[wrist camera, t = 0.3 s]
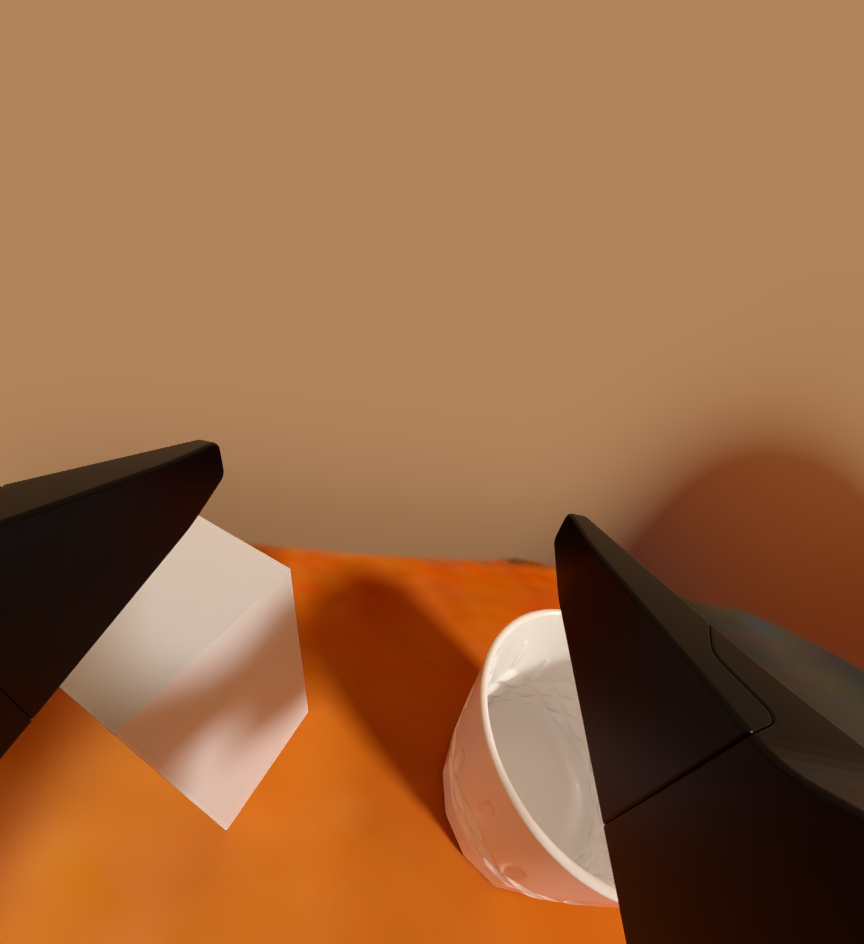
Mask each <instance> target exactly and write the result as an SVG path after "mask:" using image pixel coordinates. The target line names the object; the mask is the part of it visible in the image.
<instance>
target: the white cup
mask: <svg viewBox="0 0 864 944" xmlns="http://www.w3.org/2000/svg"><path fill="white" fill-rule="evenodd" d="M443 786H444V799H445V813H446V816H447V818H448V821H449V823H450V825H451V828H452V830H453V832H454V835H455V837H456V839H457V842H458V844H459V847H460V849H461V851H462V854H463V856H464V857H465V858H466V859H467V860H468V861H469V862H470V863H471V864H472V865H473V866H474V867H475V868H476V869H477V870H478V871H479V872H480V873H481V874H482V875H483V876H484V877H485V878H486V879H487V880H488V881H489V882H490V883H491V884H492V885H493V886H496V887H499V888H503V889H507V890H511V891H515V892H519V893H523V894H525V895H527V896H529V897H532V898H537V899H543V900H549V901H556V902H563V903H567V904H574V905H588V906H603V907H617V908H619V903H618V898H617V893H616V888H615V883H614V878H613V873H612V868H611V863H610V858H609V853H608V847H607V842H606V837H605V832H604V825H605V824H604V823H603V821H602V816H601V811H600V806H599V801H598V796H597V790H596V785H595V780H594V775H593V770H592V765H591V760H590V755H589V750H588V745H587V740H586V735H585V730H584V725H583V720H582V715H581V710H580V705H579V700H578V695H577V689H576V684H575V679H574V674H573V669H572V664H571V659H570V654H569V649H568V644H567V639H566V634H565V629H564V624H563V619H562V614H561V609H544V610H537V611H533V612H530V613H527V614H524V615H522V616H520V617H518V618H516V619H515V620H513V621H512V622H510V623H509V624H508V625H507V626H506V627H505V628H504V629H503V630H502V631H501V632H500V633H499V634H498V636H497V637H496V638H495V640H494V642H493V643H492V645H491V647H490V649H489V651H488V654H487V656H486V658H485V660H484V662H483V665H482V667H481V669H480V671H479V673H478V676H477V678H476V680H475V682H474V684H473V686H472V689H471V691H470V693H469V695H468V697H467V699H466V702H465V704H464V707H463V710H462V712H461V715H460V717H459V720H458V722H457V724H456V727H455V730H454V733H453V736H452V740H451V743H450V747H449V750H448V754H447V757H446V761H445V764H444V768H443Z"/></svg>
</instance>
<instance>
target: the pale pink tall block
mask: <svg viewBox="0 0 864 944" xmlns="http://www.w3.org/2000/svg"><path fill="white" fill-rule="evenodd" d="M60 688H61V689H62V690H63V691H64V692H66V693H67V694H68V695H69V696H70V697H71V698H72V699H73V700H75V701H76V702H77V703H78V704H79V705H80V706H81V707H83V708H84V709H85V710H86V711H87V712H88V713H89V714H91V715H92V716H93V717H94V718H95V719H96V720H97V721H98V722H100V723H101V724H102V725H103V726H104V727H105V728H106V729H108V730H109V731H110V732H111V733H112V734H113V735H114V736H116V737H117V738H118V739H119V740H120V741H121V742H123V743H124V744H125V745H126V746H127V747H128V748H130V749H131V750H132V751H133V752H134V753H136V754H137V755H138V756H139V757H140V758H141V759H143V760H144V761H145V762H146V763H147V764H148V765H150V766H151V767H152V768H153V769H154V770H156V771H157V772H158V773H159V774H160V775H161V776H163V777H164V778H165V779H166V780H167V781H168V782H170V783H171V784H172V785H173V786H174V787H175V788H177V789H178V790H179V791H180V792H181V793H183V794H184V795H185V796H186V797H187V798H188V799H190V800H191V801H192V802H193V803H194V804H195V805H197V806H198V807H199V808H200V809H201V810H203V811H204V812H205V813H206V814H207V815H208V816H210V817H211V818H212V819H213V820H214V821H215V822H217V823H218V824H219V825H220V826H221V827H222V828H224V829H225V830H226V831H227V829H228V828H229V826H230V825H231V823H232V822H233V820H234V819H235V818H236V816H237V815H238V813H239V812H240V810H241V809H242V807H243V806H244V804H245V803H246V802H247V800H248V799H249V797H250V796H251V794H252V793H253V791H254V790H255V788H256V787H257V786H258V784H259V783H260V781H261V780H262V778H263V777H264V775H265V774H266V773H267V771H268V770H269V768H270V767H271V765H272V764H273V762H274V761H275V759H276V758H277V757H278V755H279V754H280V752H281V751H282V749H283V748H284V746H285V745H286V743H287V742H288V741H289V739H290V738H291V736H292V735H293V733H294V732H295V730H296V729H297V727H298V726H299V725H300V723H301V722H302V720H303V719H304V717H305V716H306V714H307V713H308V705H307V698H306V690H305V682H304V674H303V666H302V658H301V650H300V643H299V635H298V627H297V619H296V611H295V603H294V595H293V588H292V580H291V572H290V568H288V567H287V566H285V565H283V564H281V563H280V562H278V561H276V560H274V559H273V558H271V557H269V556H268V555H266V554H264V553H262V552H261V551H259V550H257V549H255V548H254V547H252V546H250V545H249V544H247V543H245V542H243V541H242V540H240V539H238V538H236V537H234V536H233V535H231V534H229V533H228V532H226V531H224V530H223V529H221V528H219V527H217V526H216V525H214V524H212V523H211V522H209V521H207V520H205V519H204V518H202V517H200V516H198V517H197V518H196V520H195V521H194V522H193V524H192V525H191V527H190V528H189V529H188V531H187V532H186V533H185V534H184V536H183V537H182V538H181V539H180V541H179V542H178V543H177V544H176V545H175V547H174V548H173V549H172V550H171V552H170V553H169V554H168V555H167V556H166V558H165V559H164V560H163V561H162V563H161V564H160V565H159V566H158V567H157V569H156V570H155V571H154V572H153V573H152V575H151V576H150V577H149V578H148V580H147V581H146V582H145V583H144V584H143V586H142V587H141V588H140V589H139V591H138V592H137V593H136V594H135V595H134V597H133V598H132V599H131V600H130V601H129V603H128V604H127V605H126V606H125V608H124V609H123V610H122V611H121V612H120V614H119V615H118V616H117V617H116V619H115V620H114V621H113V622H112V623H111V625H110V626H109V627H108V628H107V629H106V631H105V632H104V633H103V634H102V636H101V637H100V638H99V639H98V640H97V642H96V643H95V644H94V645H93V646H92V648H91V649H90V650H89V651H88V653H87V654H86V655H85V656H84V657H83V659H82V660H81V661H80V662H79V664H78V665H77V666H76V667H75V668H74V670H73V671H72V672H71V673H70V674H69V676H68V677H67V678H66V679H65V681H64V682H63V683H62V684H61V685H60Z"/></svg>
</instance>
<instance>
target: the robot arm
mask: <svg viewBox="0 0 864 944" xmlns="http://www.w3.org/2000/svg"><path fill="white" fill-rule="evenodd" d="M223 472H224V471H223V465H222V459H221V454H220V449H219V446H218V445H217V444H216V443H214V442H209V441H204V440H196V441H192V442H187V443H183V444H178V445H174V446H170V447H165V448H161V449H157V450H153V451H148V452H144V453H139V454H135V455H131V456H127V457H123V458H118V459H114V460H109V461H105V462H101V463H96V464H92V465H88V466H83V467H79V468H75V469H71V470H66V471H62V472H58V473H53V474H49V475H45V476H40V477H36V478H32V479H28V480H23V481H19V482H14V483H11V484H6V485H4V486H3V487H0V759H1V758H2V756H3V755H4V754H5V753H6V752H7V750H8V749H9V748H10V747H11V746H12V744H13V743H14V742H15V741H16V739H17V738H18V737H19V736H20V735H21V733H22V732H23V731H24V730H25V728H26V727H27V726H28V725H29V724H30V722H31V721H32V720H31V719H32V718H34V717H35V716H36V715H37V713H38V712H39V711H40V710H41V709H42V707H43V706H44V705H45V704H46V702H47V701H48V700H49V699H50V698H51V696H52V695H53V694H54V693H55V692H56V690H57V689H58V688H59V687H60V685H61V684H62V683H63V682H64V681H65V679H66V678H67V677H68V676H69V674H70V673H71V672H72V671H73V670H74V668H75V667H76V666H77V665H78V664H79V662H80V661H81V660H82V659H83V657H84V656H85V655H86V654H87V653H88V651H89V650H90V649H91V648H92V646H93V645H94V644H95V643H96V642H97V640H98V639H99V638H100V637H101V636H102V634H103V633H104V632H105V631H106V629H107V628H108V627H109V626H110V625H111V623H112V622H113V621H114V620H115V619H116V617H117V616H118V615H119V614H120V612H121V611H122V610H123V609H124V608H125V606H126V605H127V604H128V603H129V601H130V600H131V599H132V598H133V597H134V595H135V594H136V593H137V592H138V591H139V589H140V588H141V587H142V586H143V584H144V583H145V582H146V581H147V580H148V578H149V577H150V576H151V575H152V573H153V572H154V571H155V570H156V569H157V567H158V566H159V565H160V564H161V563H162V561H163V560H164V559H165V558H166V556H167V555H168V554H169V553H170V552H171V550H172V549H173V548H174V547H175V545H176V544H177V543H178V542H179V541H180V539H181V538H182V537H183V536H184V534H185V533H186V532H187V531H188V529H189V528H190V527H191V525H192V524H193V522H194V521H195V520H196V518H197V517H198V515H199V514H200V512H201V510H202V509H203V507H204V506H205V504H206V503H207V501H208V500H209V498H210V497H211V495H212V494H213V492H214V491H215V489H216V487H217V486H218V484H219V483H220V481H221V480H222V477H223ZM554 547H555V561H556V573H557V586H558V596H559V603H560V609H561V614H562V619H563V624H564V629H565V634H566V639H567V644H568V649H569V654H570V659H571V664H572V669H573V674H574V679H575V684H576V689H577V695H578V700H579V705H580V710H581V715H582V720H583V725H584V730H585V735H586V740H587V745H588V750H589V755H590V760H591V765H592V770H593V775H594V780H595V785H596V790H597V796H598V801H599V806H600V811H601V816H602V821H603V823H604V824H605V825H604V832H605V837H606V842H607V847H608V853H609V858H610V863H611V868H612V873H613V878H614V883H615V888H616V893H617V898H618V903H619V908H620V913H621V918H622V923H623V928H624V933H625V938H626V943H627V944H864V746H862V745H861V744H860V743H858V742H857V741H856V740H855V739H853V738H852V737H851V736H849V735H848V734H847V733H846V732H844V731H843V730H842V729H840V728H839V727H838V726H837V725H835V724H834V723H833V722H832V721H830V720H829V719H828V718H826V717H825V716H824V715H823V714H821V713H820V712H819V711H817V710H816V709H815V708H814V707H812V706H811V705H810V704H808V703H807V702H806V701H805V700H803V699H802V698H801V697H800V696H798V695H797V694H796V693H794V692H793V691H792V690H791V689H789V688H788V687H787V686H786V685H784V684H783V683H782V682H781V681H779V680H778V679H777V678H775V677H774V676H773V675H772V674H770V673H769V672H768V671H767V670H765V669H764V668H763V667H762V666H760V665H759V664H758V663H757V662H755V661H754V660H753V659H752V658H751V657H749V656H748V655H747V654H746V653H745V652H743V651H742V650H741V649H740V648H739V647H737V646H736V645H735V644H734V643H733V642H731V641H730V640H729V639H728V638H727V637H726V636H724V635H723V634H722V633H721V632H720V631H719V630H718V629H716V628H715V627H714V626H713V625H709V622H708V621H707V620H706V619H705V618H703V617H702V616H701V615H700V614H699V613H698V612H696V611H695V610H694V609H693V608H692V607H691V606H689V605H688V604H687V603H686V602H685V601H684V600H682V599H681V598H680V597H679V596H678V595H677V594H675V593H674V592H673V591H672V590H670V588H668V587H667V586H666V585H665V584H664V583H662V582H661V581H660V580H659V579H658V578H656V577H655V576H654V575H653V574H652V573H651V572H650V571H648V570H647V569H646V568H645V567H644V566H643V565H641V564H640V563H639V562H638V561H637V560H636V559H634V558H633V557H632V556H631V555H630V554H629V553H627V552H626V551H625V550H624V549H623V548H621V547H620V546H619V545H618V544H617V543H616V542H614V541H613V540H612V539H611V538H610V537H609V536H608V535H606V534H605V533H604V532H603V531H602V530H601V529H599V528H598V527H597V526H596V525H595V524H593V523H592V522H591V521H590V520H589V519H588V518H587V517H585V516H581V515H576V514H568V515H567V516H566V518H565V520H564V521H563V524H562V525H561V527H560V529H559V531H558V533H557V535H556V538H555V542H554Z"/></svg>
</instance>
